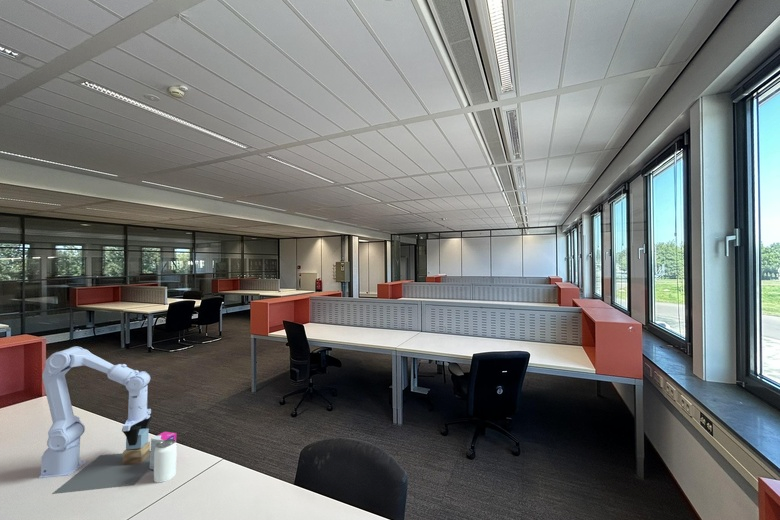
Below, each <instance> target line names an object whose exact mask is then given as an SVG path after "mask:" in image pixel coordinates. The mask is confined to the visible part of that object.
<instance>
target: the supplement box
mask: <svg viewBox="0 0 780 520" xmlns="http://www.w3.org/2000/svg"><path fill="white" fill-rule="evenodd" d="M167 439H174V440H175V443H176V444H177V432H170V431H163V432H161V433H159V434H158V435H155V436H154V437H152V438H151V439H150V451H151V452H150V469H149V470H150V471H154V451H155V448H156V445H157V444H158V443H159V442H161V441H163V440H167Z"/></svg>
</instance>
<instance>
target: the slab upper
mask: <svg viewBox="0 0 780 520" xmlns="http://www.w3.org/2000/svg"><path fill="white" fill-rule="evenodd" d="M148 449H150V450H151V441H148V442H147V443H146V444H145V445H144V446H143V447H142V448H137V449H126V448H125V449H124V450H123V451H122V453H123V459H125V458H135V457H141V456H142V455H143V454H144V453H145V452H146V451H147V450H148Z"/></svg>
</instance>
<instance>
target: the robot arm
mask: <svg viewBox="0 0 780 520" xmlns="http://www.w3.org/2000/svg"><path fill="white" fill-rule="evenodd" d="M44 363H45V366H44V370H43V372H42V376H41V377H42V383H43V386H44V391H45V396H46V399H47V404H48V407H49V411H50V417H51V421H52V424H51V426H50V428H49V429H48V432H47V435H48V438H47V440H46V446H47V447H48V448H46V450H44V452H43V454H42V456H41V458H40V459H41V460H40V463H41V464H40V475H39V476H38V479H46V478H57V477H67V476H70V475H72V474H73V473H75V472H76V471H77V470H78V469H79V468H81V467H82V466H84V465H85V464H86V462H87V461H86V460H85V461H80V459H81V457H80V455H81V454H80V453H81V437H82V436H83V434H84V433H85V431H86V427H85V425H84V423H82V422H81V418H80V417H79V416H77V415H75V414H74V410H73V405H72V401H71V398H70V393H69V388H68V384H67V379H66V374H67V373H68V372H69V371H70V370H71V369H72V368H76V367H82V366H83V367H84V366H86V367H88V368H90V369H94V370H97V371H98V372H102V373H105V374H106V376H107V378H108V379H109V380H111V381H113V382H116V383H118V384H120V385H123V386H125V389H126V390H127V391H128V405H127V406H128V410H127V411H128V412H127V413H128V414H127V419H126V421H125V423H124V425H122V427H121V428H122V429H121V432H122V433H123V434H124V436H125V438H126V437H127V440H128V443H129V446H131V445H136V443H137V438H138V433H139V430H140V429H147V428H149V424H150V423H151V420H152V418H153V416H152V415H151V414H152V409H151V408H148V393H149V392H148V387H149V386H148V384H149V383H150V381H151V375H150V374H149V373H148V372H147V371H145V370H144V371H143V370H142V371H139V370H138V369H133V368H130V367H128V365H127V364H125V363H123V364H122V363H118V364H112V363H111V362H109V361H107V360H105V359H103V358H101V357H99V356H97V355H95V354H93V353H92V352H90V351H89V350H88V349H86V348H83V347H81V346H76V345H75V346H71V347H69V348H66V349H63V350H60V351H56V352H54V353H52V354H50V356H49V357H48V358H46V360H45V361H44Z"/></svg>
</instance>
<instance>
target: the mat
mask: <svg viewBox="0 0 780 520" xmlns="http://www.w3.org/2000/svg"><path fill="white" fill-rule="evenodd" d="M150 452H151V450H150ZM149 470H150V455H149V456H148V457H147V458H146V459H145V460H144V461H143V462H142V463H141V464H133V465H123V452H122V453H113V454H111V453H110V454H100V455H99V456H97V457H96V458H95V459H93V460H92V461H91V462H90V463H88V464H87V465H85V467H84V468H82V469H81V470H79V471H78V472H77V473H76V474H74V475H73V476H72V477H71V478H69V479H68V480H67V481H65V482H64V483H63V484H62V485H61V486H60V487H58V488H57V489H55V490H54V491H53V492H52V493H51V495H54V494H55V495H56V494H65V493H74V492H84V491H92V490H103V489H111V488H121V487H130V486H135V485H136V484H137V483H138V482H139V481H140V480H141V478H142V477H143V476H145V474H147V472H148V471H149Z"/></svg>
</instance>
